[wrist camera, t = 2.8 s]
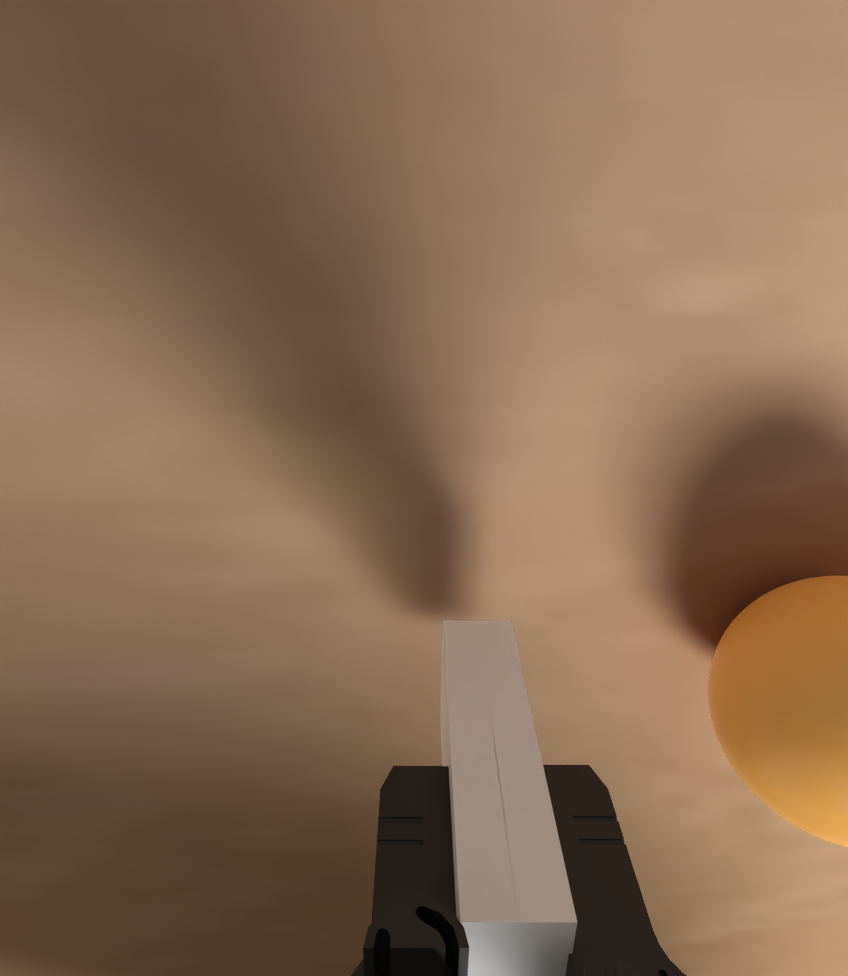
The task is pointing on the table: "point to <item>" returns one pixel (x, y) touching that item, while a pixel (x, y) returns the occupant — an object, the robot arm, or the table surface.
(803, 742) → the ball
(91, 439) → the table surface
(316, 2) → the table surface
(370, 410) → the table surface
